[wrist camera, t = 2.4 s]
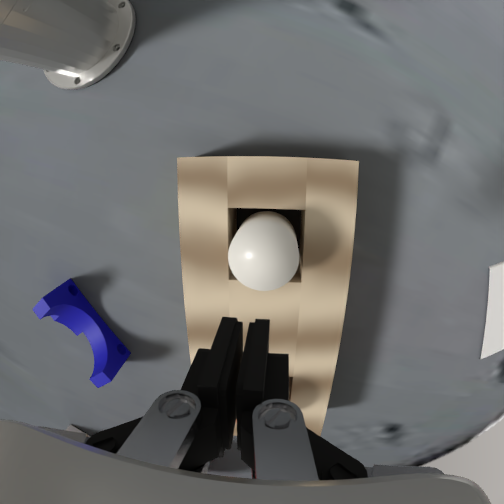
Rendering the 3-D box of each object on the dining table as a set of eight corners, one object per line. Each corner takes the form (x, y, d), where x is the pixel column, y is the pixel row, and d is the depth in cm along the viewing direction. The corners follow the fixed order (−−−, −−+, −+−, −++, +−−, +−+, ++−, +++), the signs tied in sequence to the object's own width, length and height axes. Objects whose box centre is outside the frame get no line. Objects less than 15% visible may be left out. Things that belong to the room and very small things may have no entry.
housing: (194, 157, 28) (177, 157, 23) (345, 160, 27) (358, 161, 22) (208, 404, 37) (200, 431, 32) (317, 410, 36) (319, 438, 31)
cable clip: (55, 294, 35) (27, 314, 29) (71, 277, 34) (42, 297, 28) (111, 364, 37) (91, 391, 31) (131, 352, 36) (111, 381, 30)
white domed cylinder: (237, 210, 26) (227, 222, 21) (297, 212, 26) (301, 224, 21) (237, 267, 28) (228, 289, 23) (294, 269, 27) (297, 292, 23)
